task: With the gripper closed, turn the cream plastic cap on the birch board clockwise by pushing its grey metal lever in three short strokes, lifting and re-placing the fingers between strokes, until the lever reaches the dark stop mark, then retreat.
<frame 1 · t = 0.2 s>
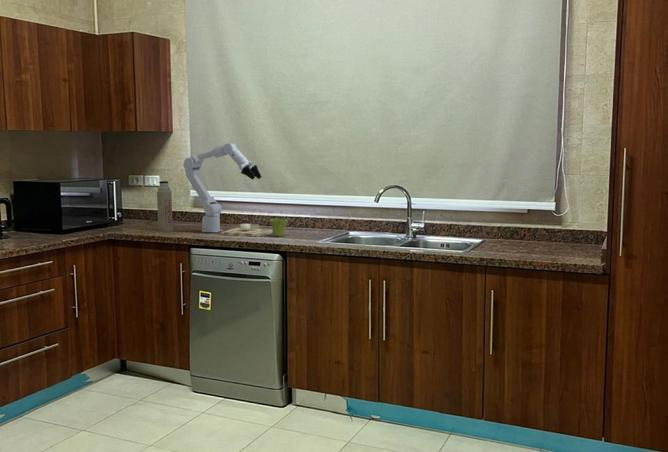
hand: (257, 178, 365), 31 cm above the worktop, tool tilted 45°, fingers open, 7 cm apart
metal collar: (245, 233, 371), resting on birch board
plant pot: (278, 236, 362), on the worktop
cream cap: (249, 226, 370), point 4 cm above the worktop, hinge at 0.0°
thermos bottle: (165, 230, 384), on the worktop
birch board: (247, 233, 370), on the worktop
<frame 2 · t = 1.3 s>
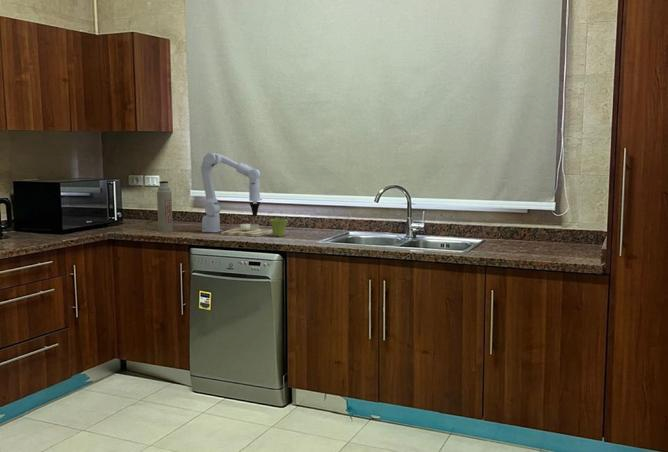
hand: (254, 215, 375), 9 cm above the worktop, tool pointing down, fingers open, 6 cm apart
nothing on the worktop moved.
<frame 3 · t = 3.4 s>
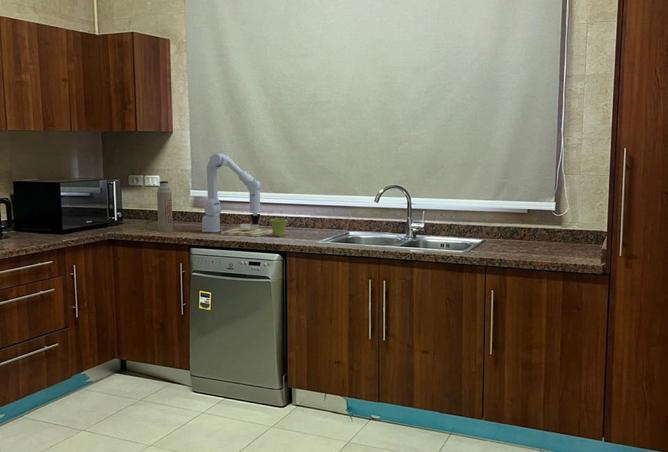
hand: (255, 227, 372), 3 cm above the worktop, tool pointing down, fingers closed, pressing on cream cap
cream cap: (249, 226, 370), point 4 cm above the worktop, hinge at 1.0°, touching gripper
everything else where it was.
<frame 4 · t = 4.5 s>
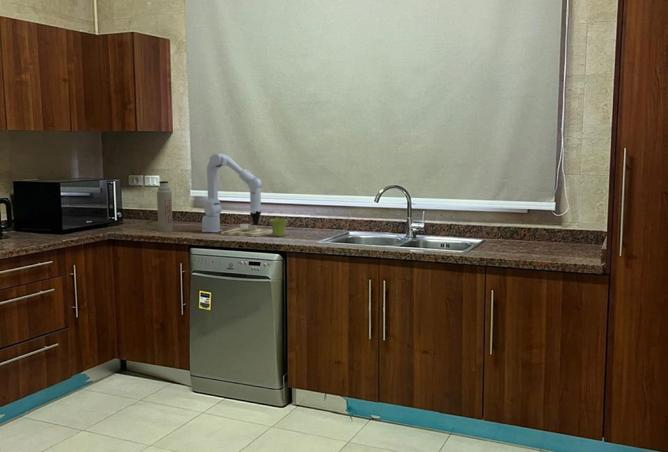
hand: (255, 225, 370), 5 cm above the worktop, tool pointing down, fingers closed
cream cap: (248, 227, 369), point 4 cm above the worktop, hinge at 40.6°
everything else where it was.
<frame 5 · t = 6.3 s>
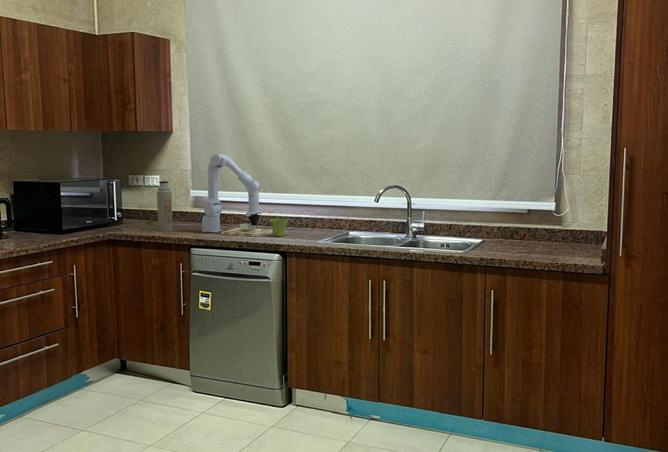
hand: (254, 228, 368), 3 cm above the worktop, tool pointing down, fingers closed, pressing on cream cap
cream cap: (248, 227, 369), point 4 cm above the worktop, hinge at 45.3°, touching gripper
everything else where it was.
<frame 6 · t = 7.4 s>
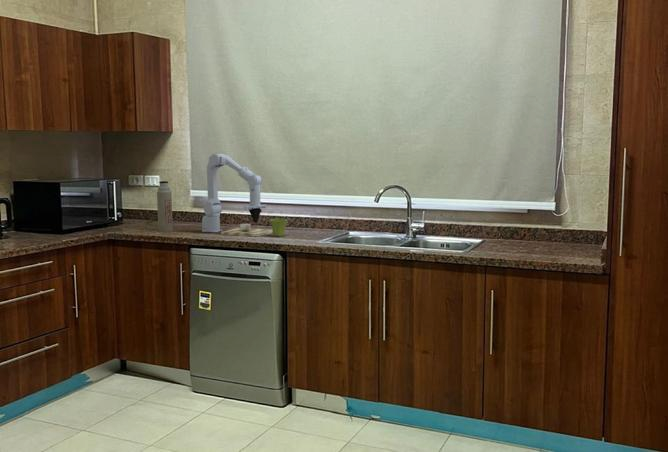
hand: (255, 222, 367), 6 cm above the worktop, tool pointing down, fingers closed
cream cap: (246, 227, 368), point 4 cm above the worktop, hinge at 71.5°
everything else where it was.
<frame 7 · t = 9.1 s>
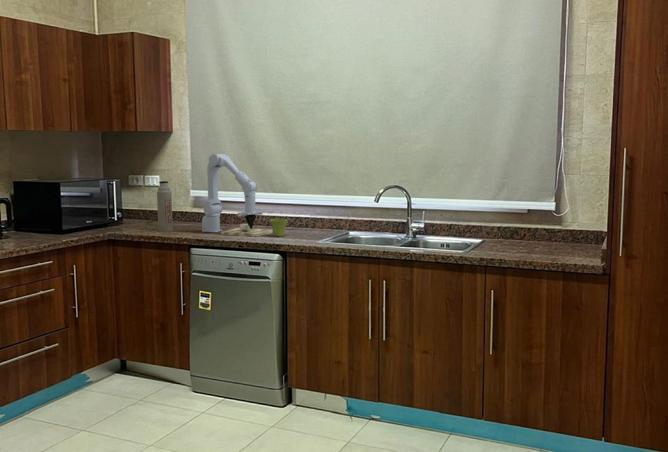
hand: (250, 228, 366), 3 cm above the worktop, tool pointing down, fingers closed, pressing on cream cap
cream cap: (246, 227, 368), point 4 cm above the worktop, hinge at 76.9°, touching gripper
everything else where it was.
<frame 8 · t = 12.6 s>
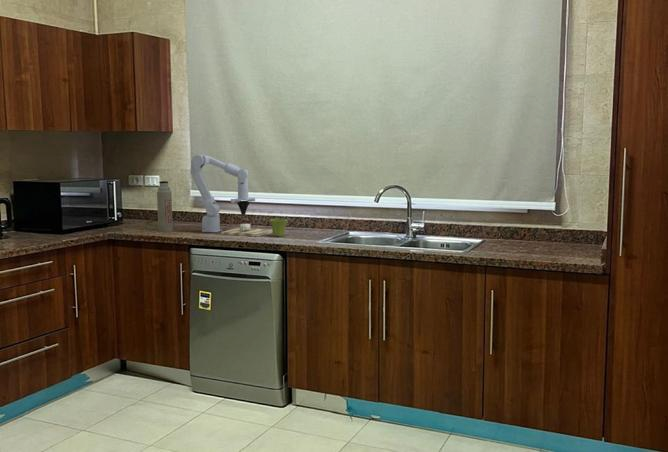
hand: (243, 214, 378), 9 cm above the worktop, tool pointing down, fingers closed
cream cap: (244, 227, 368), point 4 cm above the worktop, hinge at 104.0°
everything else where it was.
at the end: cream cap at +104° (first picture: +0°); the gripper is holding nothing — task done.
